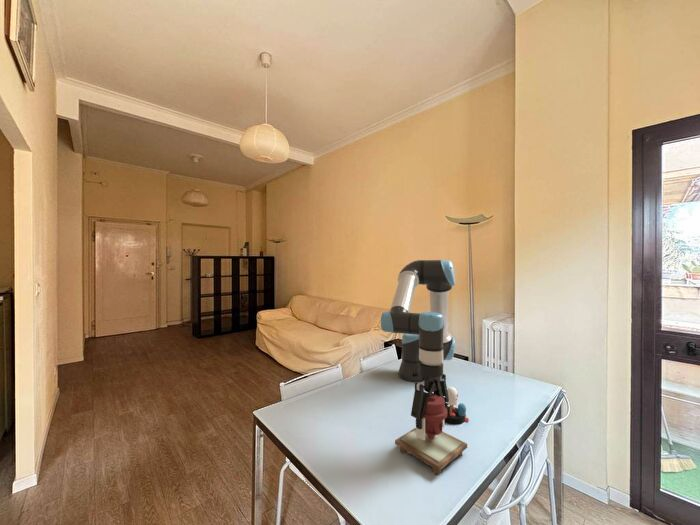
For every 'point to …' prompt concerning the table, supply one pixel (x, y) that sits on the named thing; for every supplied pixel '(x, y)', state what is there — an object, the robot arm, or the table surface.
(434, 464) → the stand
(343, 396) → the table surface
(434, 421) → the mechanical component
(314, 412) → the table surface
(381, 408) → the table surface
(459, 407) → the figurine
